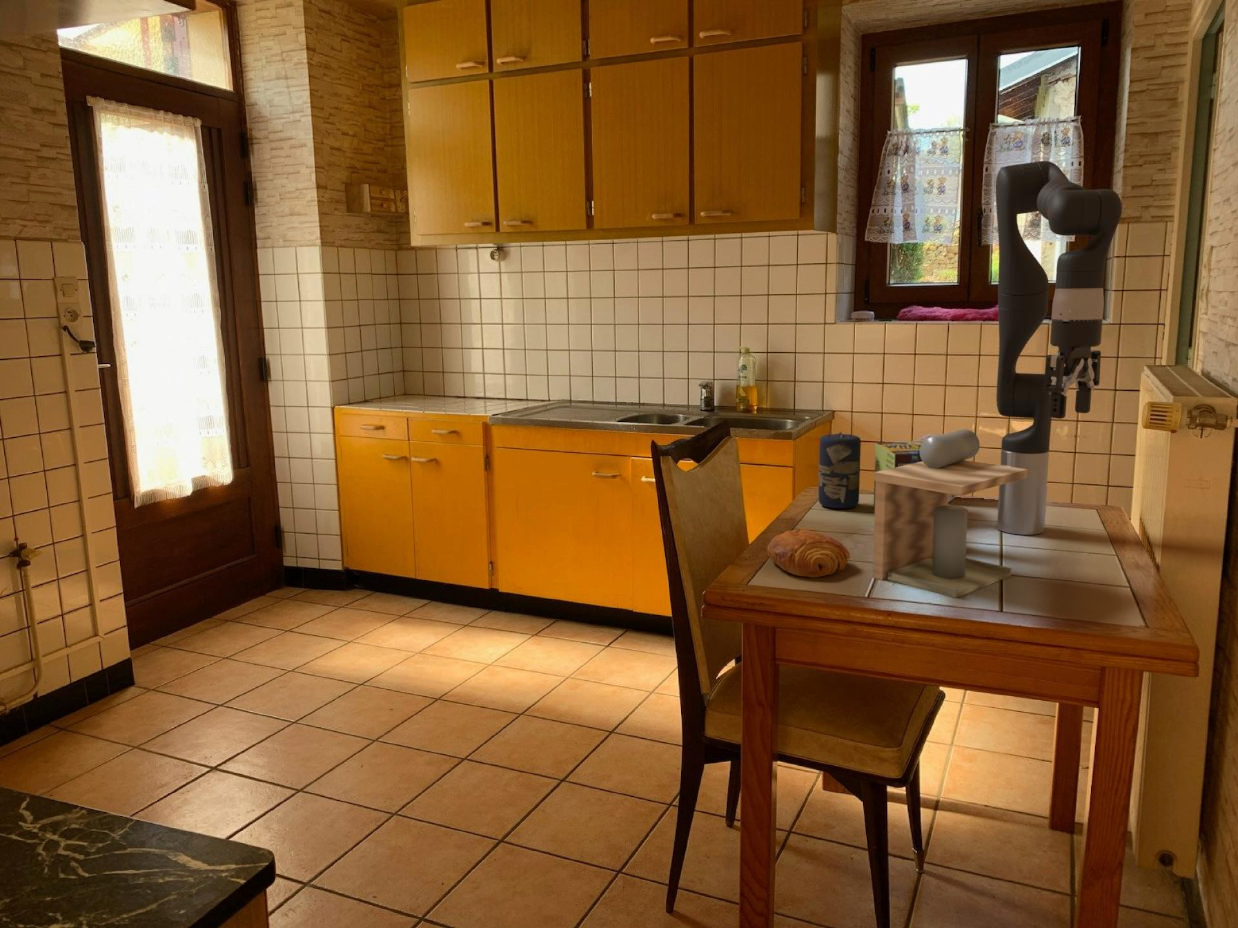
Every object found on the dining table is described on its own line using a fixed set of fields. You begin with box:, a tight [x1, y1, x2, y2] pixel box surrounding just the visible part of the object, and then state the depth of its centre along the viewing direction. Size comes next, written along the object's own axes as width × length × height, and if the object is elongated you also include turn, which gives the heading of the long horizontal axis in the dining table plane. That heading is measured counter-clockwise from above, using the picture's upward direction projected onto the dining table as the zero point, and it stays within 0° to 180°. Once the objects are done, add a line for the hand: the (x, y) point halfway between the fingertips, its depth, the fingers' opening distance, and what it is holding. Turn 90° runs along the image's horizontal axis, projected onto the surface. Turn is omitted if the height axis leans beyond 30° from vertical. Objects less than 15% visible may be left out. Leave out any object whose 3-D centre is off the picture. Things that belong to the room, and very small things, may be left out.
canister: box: [817, 431, 862, 509], centre depth 222 cm, size 10×10×18 cm
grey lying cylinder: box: [920, 428, 981, 468], centre depth 172 cm, size 6×6×12 cm
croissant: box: [766, 528, 851, 578], centre depth 177 cm, size 14×16×8 cm
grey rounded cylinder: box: [932, 504, 968, 579], centre depth 168 cm, size 6×6×12 cm
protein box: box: [873, 441, 921, 508], centre depth 214 cm, size 10×15×16 cm
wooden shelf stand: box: [872, 459, 1027, 598], centre depth 168 cm, size 21×17×20 cm
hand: (1070, 415), depth 156 cm, fingers open, 8 cm apart
